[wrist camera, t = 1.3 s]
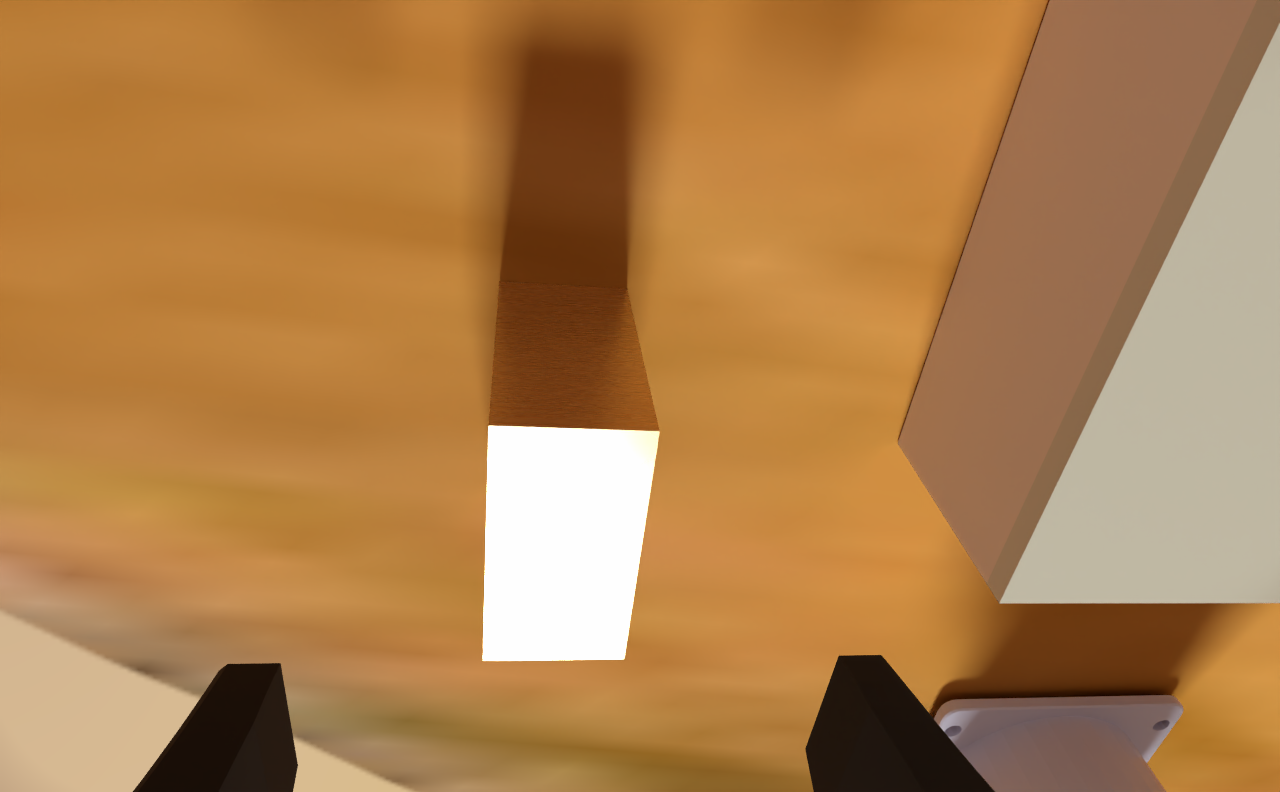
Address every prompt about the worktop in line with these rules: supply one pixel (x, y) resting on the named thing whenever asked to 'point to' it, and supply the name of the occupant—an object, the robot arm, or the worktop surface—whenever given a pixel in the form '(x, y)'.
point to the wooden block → (565, 473)
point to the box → (1120, 318)
